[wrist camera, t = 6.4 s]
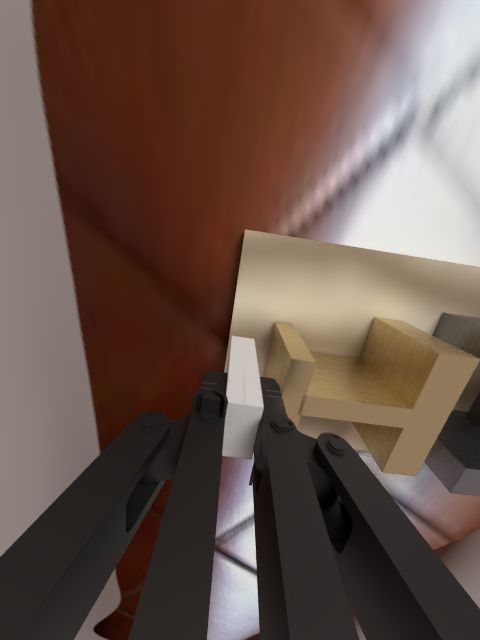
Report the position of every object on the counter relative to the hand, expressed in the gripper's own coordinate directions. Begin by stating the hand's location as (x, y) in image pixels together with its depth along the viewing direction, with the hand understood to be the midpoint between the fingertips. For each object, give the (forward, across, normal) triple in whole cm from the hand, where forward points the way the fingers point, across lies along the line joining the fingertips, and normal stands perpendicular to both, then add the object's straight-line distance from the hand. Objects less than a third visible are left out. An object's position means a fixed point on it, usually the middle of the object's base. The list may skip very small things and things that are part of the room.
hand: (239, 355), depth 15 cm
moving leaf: (+1, +6, 0) cm, 7 cm away
